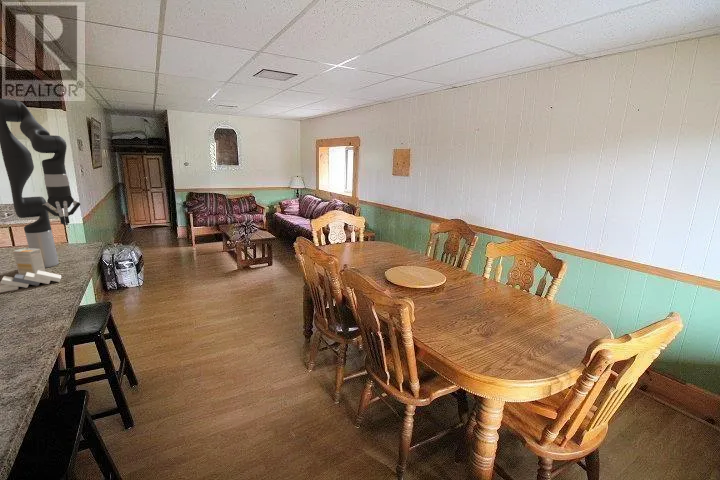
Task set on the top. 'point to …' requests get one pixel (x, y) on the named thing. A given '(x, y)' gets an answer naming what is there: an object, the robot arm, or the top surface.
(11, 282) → the ivory domino
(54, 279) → the ivory domino
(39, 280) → the ivory domino
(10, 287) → the ivory domino
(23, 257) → the supplement box
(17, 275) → the charcoal domino
